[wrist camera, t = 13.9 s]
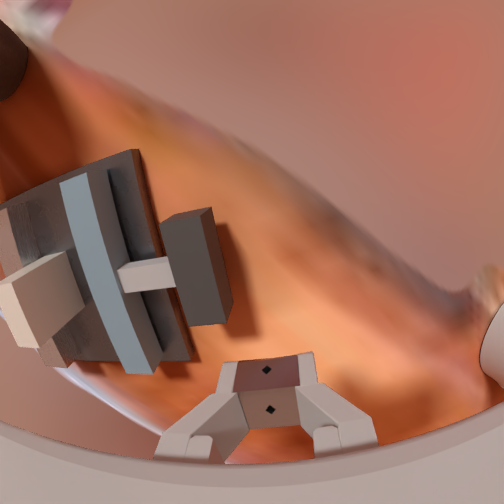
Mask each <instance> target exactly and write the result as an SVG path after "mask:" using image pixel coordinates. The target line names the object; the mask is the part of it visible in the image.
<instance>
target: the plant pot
mask: <svg viewBox="0 0 504 504" xmlns="http://www.w3.org/2000/svg"><path fill="white" fill-rule="evenodd" d="M27 59H28V52H27V48H26V46H25V44H24V43H23V42H22V41H21V40H20V39H19V37H18V36H17V35H16V34H15V33H14V32H13V31H12V30H11V29H10V28H9V27H8V26H7V25H6V24H5V23H4V22H3V21H1V20H0V101H2V100H4V99H6V98H8V97H9V96H10V95H11V94H12V93H13V92H14V91H15V90H16V88H17V87H18V85H19V83H20V81H21V79H22V77H23V75H24V72H25V69H26V65H27Z"/></svg>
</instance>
